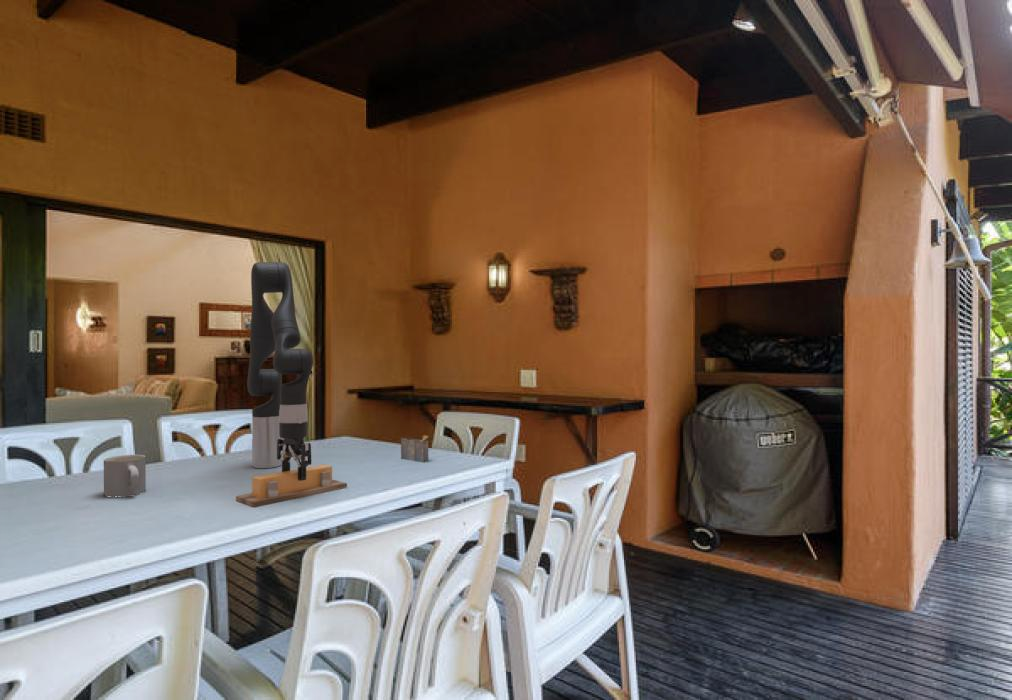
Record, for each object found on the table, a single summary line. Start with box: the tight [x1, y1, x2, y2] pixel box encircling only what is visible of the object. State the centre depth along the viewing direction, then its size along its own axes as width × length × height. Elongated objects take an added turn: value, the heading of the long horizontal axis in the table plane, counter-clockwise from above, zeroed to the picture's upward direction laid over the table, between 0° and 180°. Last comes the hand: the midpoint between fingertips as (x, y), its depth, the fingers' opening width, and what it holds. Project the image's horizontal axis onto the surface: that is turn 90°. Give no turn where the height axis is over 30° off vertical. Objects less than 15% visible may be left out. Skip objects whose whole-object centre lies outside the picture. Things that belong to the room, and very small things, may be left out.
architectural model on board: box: [400, 434, 429, 463], centre depth 218 cm, size 11×3×10 cm, turn 53°
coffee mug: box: [103, 454, 147, 497], centre depth 168 cm, size 13×10×10 cm
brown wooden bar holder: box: [235, 471, 348, 508], centre depth 169 cm, size 10×28×5 cm, turn 139°
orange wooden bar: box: [251, 464, 333, 498], centre depth 169 cm, size 4×22×5 cm, turn 139°
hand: (293, 477), depth 169 cm, fingers open, 8 cm apart
